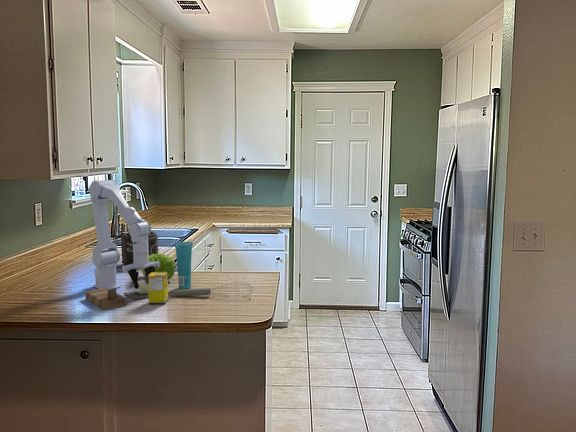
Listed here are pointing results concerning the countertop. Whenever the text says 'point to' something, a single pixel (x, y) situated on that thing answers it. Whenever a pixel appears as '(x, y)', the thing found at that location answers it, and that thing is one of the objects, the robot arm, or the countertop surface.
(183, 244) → the tube
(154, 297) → the supplement box
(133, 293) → the charcoal mat
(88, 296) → the walnut plane
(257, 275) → the countertop surface
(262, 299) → the countertop surface
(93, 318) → the countertop surface
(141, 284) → the lever cap
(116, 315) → the countertop surface
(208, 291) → the kitchen whisk
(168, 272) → the lettuce
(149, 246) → the dark speckled bucket
